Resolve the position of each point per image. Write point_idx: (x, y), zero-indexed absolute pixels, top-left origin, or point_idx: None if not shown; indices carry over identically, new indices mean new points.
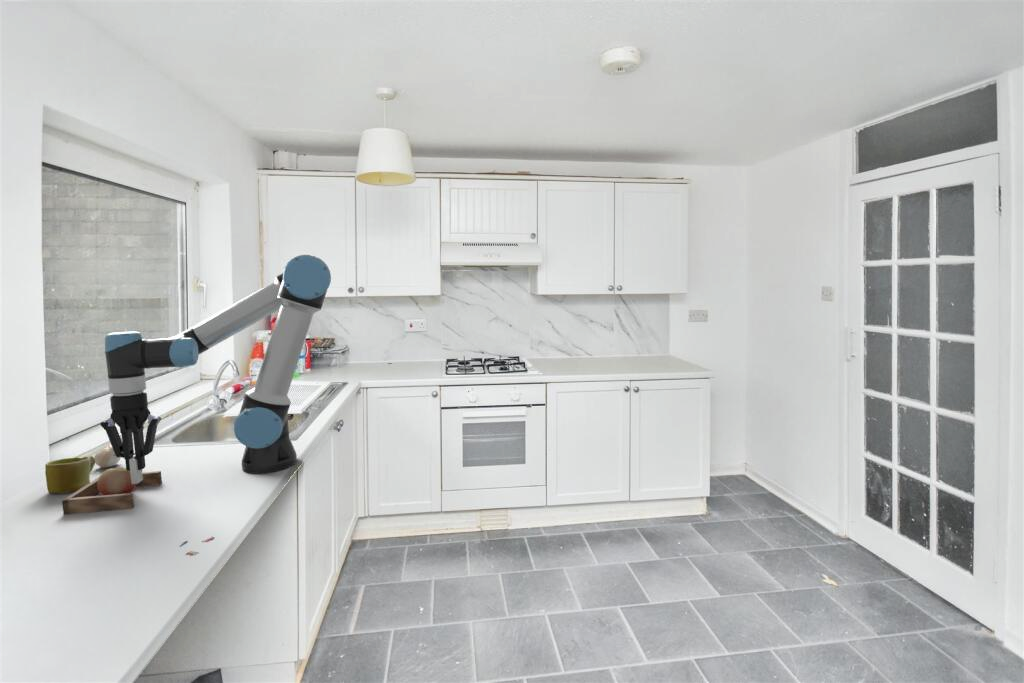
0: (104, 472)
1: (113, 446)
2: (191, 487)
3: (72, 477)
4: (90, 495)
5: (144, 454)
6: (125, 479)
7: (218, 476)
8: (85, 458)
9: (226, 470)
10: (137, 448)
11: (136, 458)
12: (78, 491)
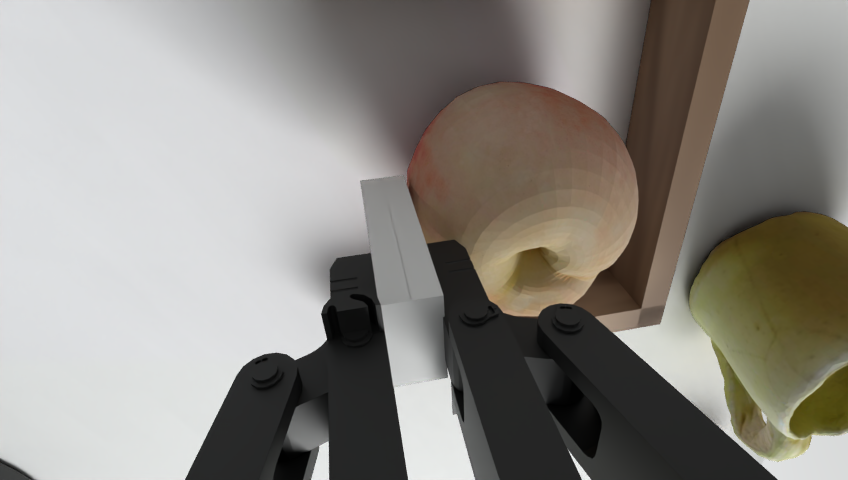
0: (618, 202)
1: (673, 406)
2: (120, 268)
3: (793, 279)
4: (637, 157)
5: (282, 359)
6: (435, 168)
7: (84, 396)
8: (796, 429)
9: (109, 455)
10: (359, 417)
11: (360, 305)
12: (709, 93)
